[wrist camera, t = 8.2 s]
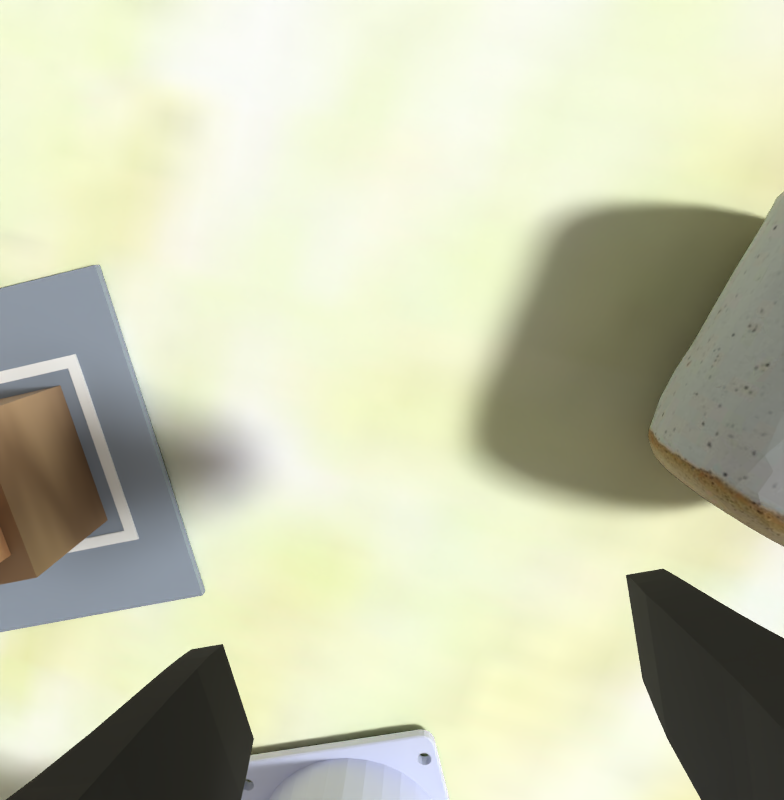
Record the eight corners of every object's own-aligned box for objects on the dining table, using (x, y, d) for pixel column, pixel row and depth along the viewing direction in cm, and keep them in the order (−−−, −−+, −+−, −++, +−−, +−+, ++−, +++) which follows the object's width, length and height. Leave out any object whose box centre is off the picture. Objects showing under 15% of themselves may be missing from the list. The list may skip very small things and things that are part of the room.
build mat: (205, 591, 22) (201, 596, 22) (-39, 635, 23) (-47, 641, 23) (99, 264, 20) (94, 265, 19) (-169, 331, 21) (-179, 332, 20)
